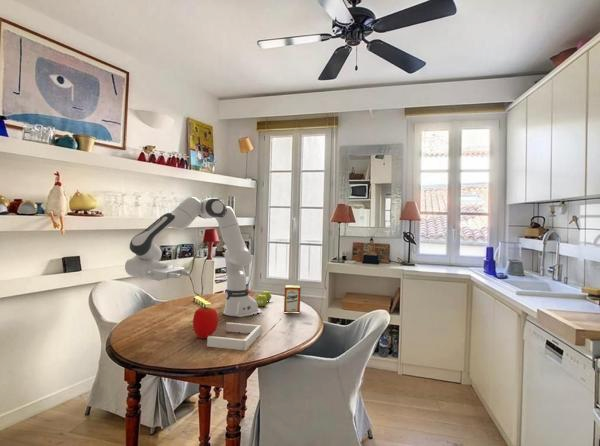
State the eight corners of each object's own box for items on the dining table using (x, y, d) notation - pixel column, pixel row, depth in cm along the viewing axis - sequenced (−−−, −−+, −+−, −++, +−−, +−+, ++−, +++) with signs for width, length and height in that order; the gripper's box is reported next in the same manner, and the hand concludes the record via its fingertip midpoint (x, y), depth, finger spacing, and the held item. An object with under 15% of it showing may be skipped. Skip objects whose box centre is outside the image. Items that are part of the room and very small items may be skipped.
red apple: (192, 333, 159) (193, 303, 159) (216, 331, 162) (217, 302, 162) (192, 342, 147) (193, 310, 147) (218, 340, 150) (219, 309, 150)
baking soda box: (299, 310, 206) (300, 285, 206) (299, 313, 199) (300, 287, 199) (284, 310, 205) (285, 284, 205) (283, 313, 199) (284, 286, 199)
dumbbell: (266, 307, 211) (266, 296, 211) (253, 306, 212) (254, 295, 212) (271, 301, 228) (272, 291, 228) (260, 300, 229) (261, 290, 229)
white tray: (207, 346, 143) (207, 337, 143) (227, 330, 164) (227, 322, 164) (245, 350, 140) (246, 341, 140) (261, 333, 161) (261, 325, 161)
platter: (213, 298, 233) (214, 293, 233) (233, 308, 208) (233, 303, 208) (166, 303, 214) (166, 298, 214) (181, 315, 189) (181, 309, 189)
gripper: (145, 266, 149) (173, 270, 147) (169, 263, 170) (194, 266, 167) (143, 280, 149) (171, 284, 147) (168, 275, 169) (193, 279, 167)
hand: (184, 275), depth 157 cm, fingers open, 8 cm apart
